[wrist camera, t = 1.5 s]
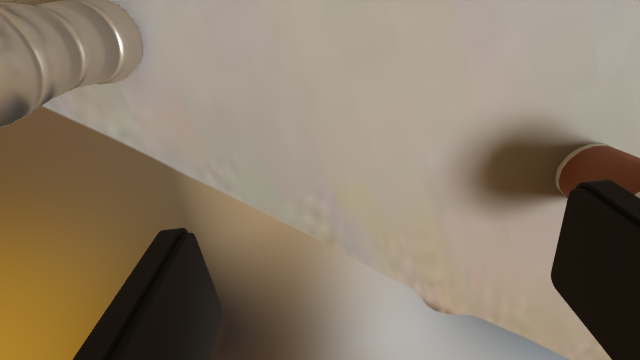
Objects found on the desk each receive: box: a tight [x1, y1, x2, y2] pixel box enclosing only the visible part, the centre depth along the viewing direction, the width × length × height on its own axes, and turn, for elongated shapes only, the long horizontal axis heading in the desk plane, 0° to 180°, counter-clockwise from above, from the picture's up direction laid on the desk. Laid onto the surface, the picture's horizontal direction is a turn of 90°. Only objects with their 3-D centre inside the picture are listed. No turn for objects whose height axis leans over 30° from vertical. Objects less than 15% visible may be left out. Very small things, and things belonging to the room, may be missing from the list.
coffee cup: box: [555, 143, 640, 198], centre depth 32 cm, size 9×9×12 cm
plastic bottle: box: [0, 0, 143, 127], centre depth 22 cm, size 6×7×20 cm
